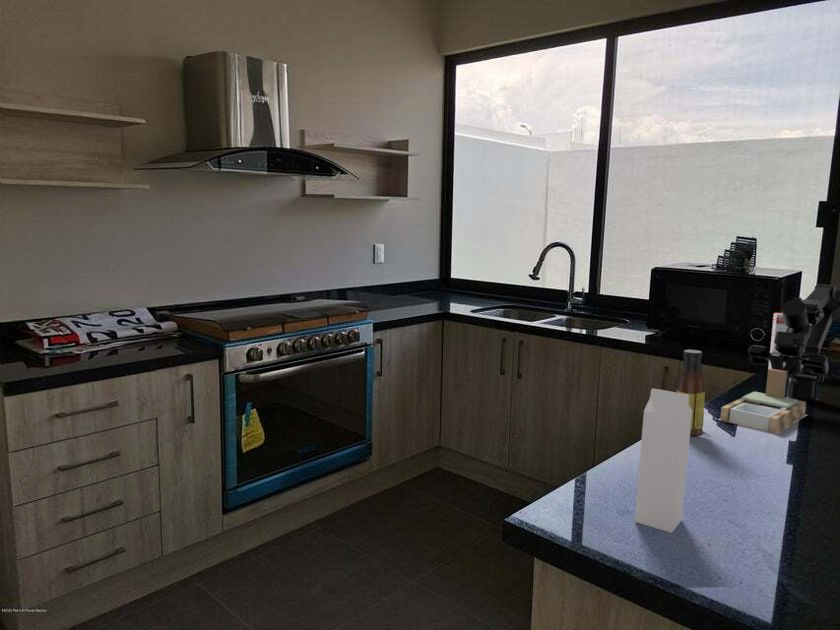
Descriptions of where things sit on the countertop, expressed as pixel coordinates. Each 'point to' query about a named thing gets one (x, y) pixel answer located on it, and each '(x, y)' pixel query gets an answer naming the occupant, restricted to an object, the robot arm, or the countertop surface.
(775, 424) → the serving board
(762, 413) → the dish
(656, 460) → the milk
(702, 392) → the sauce bottle
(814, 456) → the countertop surface
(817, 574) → the countertop surface
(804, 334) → the robot arm
